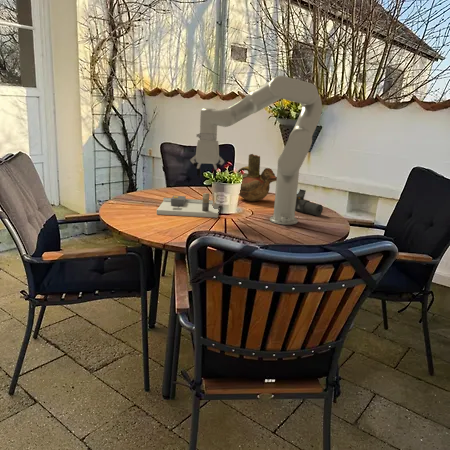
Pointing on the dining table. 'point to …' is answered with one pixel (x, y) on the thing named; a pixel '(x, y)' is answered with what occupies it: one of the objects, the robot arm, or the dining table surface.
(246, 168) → the ceramic vessel
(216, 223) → the dining table surface
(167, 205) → the wall panel
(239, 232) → the dining table surface
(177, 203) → the block
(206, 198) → the tan cylinder
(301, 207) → the laser sight
